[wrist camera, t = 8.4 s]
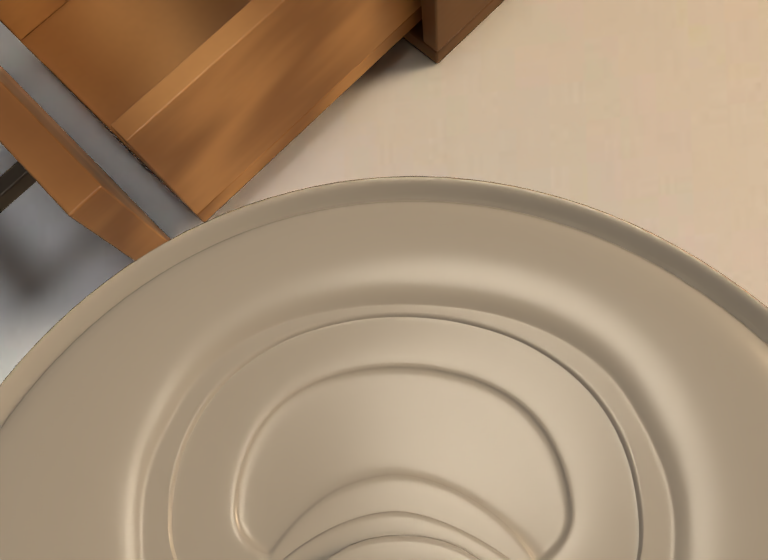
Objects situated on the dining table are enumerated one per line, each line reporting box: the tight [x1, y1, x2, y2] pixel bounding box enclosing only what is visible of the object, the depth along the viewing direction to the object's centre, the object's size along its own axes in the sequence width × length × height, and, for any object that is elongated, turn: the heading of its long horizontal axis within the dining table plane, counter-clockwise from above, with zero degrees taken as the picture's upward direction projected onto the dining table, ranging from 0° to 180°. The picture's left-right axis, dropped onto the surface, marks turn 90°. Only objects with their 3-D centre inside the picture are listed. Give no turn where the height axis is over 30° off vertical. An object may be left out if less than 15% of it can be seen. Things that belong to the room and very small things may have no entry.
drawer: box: [0, 0, 422, 261], centre depth 24 cm, size 20×13×7 cm
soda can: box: [0, 176, 768, 560], centre depth 11 cm, size 8×8×15 cm
